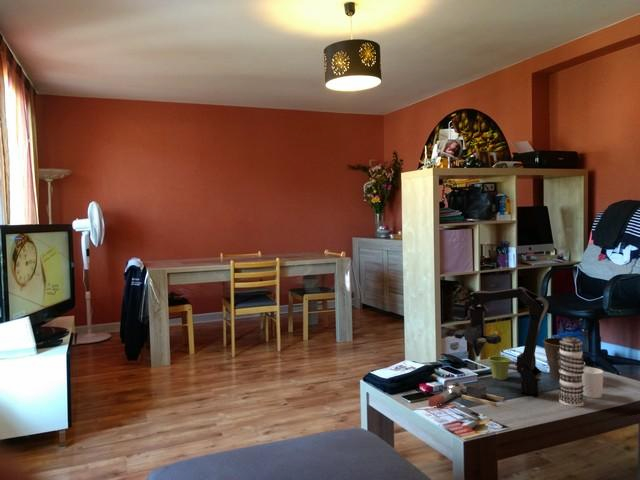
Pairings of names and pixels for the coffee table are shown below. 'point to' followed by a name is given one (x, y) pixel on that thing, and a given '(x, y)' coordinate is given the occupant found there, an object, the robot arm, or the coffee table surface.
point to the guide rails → (484, 400)
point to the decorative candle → (571, 372)
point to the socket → (476, 391)
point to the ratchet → (448, 393)
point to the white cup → (592, 382)
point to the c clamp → (512, 366)
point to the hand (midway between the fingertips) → (477, 356)
